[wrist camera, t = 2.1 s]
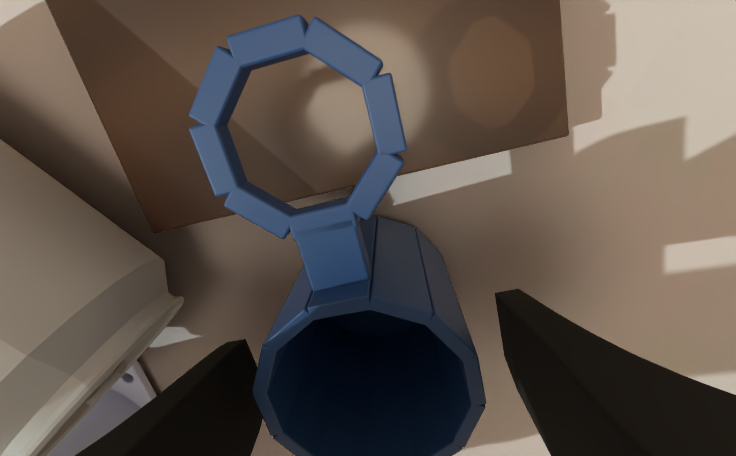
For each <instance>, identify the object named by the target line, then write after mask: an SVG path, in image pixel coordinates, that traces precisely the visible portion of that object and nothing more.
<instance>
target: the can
mask: <svg viewBox="0 0 736 456" xmlns="http://www.w3.org/2000/svg"><path fill="white" fill-rule="evenodd" d="M183 303H184V297H182V296H180V297H175V296H173V295H172V294H170V293H168V287H167V279H166V272H165V264H164V260H163V259H162V258H161V257H159V256H158V255H157V254H155V253H154V252H153V251H151V250H150V249H148V248H147V247H146V246H144V245H143V244H142V243H140V242H139V241H138V240H136V239H135V238H134V237H132V236H131V235H130V234H128V233H127V232H125V231H124V230H123V229H121V228H120V227H119V226H117V225H116V224H115V223H113V222H112V221H111V220H109V219H108V218H107V217H105V216H104V215H102V214H101V213H100V212H98V211H97V210H96V209H94V208H93V207H92V206H90V205H89V204H88V203H86V202H85V201H84V200H82V199H81V198H79V197H78V196H77V195H75V194H74V193H73V192H71V191H70V190H69V189H67V188H66V187H65V186H63V185H62V184H61V183H59V182H58V181H56V180H55V179H54V178H52V177H51V176H50V175H48V174H47V173H46V172H44V171H43V170H42V169H40V168H39V167H38V166H36V165H35V164H33V163H32V162H31V161H29V160H28V159H27V158H25V157H24V156H23V155H21V154H20V153H19V152H17V151H16V150H15V149H13V148H12V147H10V146H9V145H8V144H6V143H5V142H4V141H2V140H1V139H0V456H46V455H47V454H48V453H49V452H50V451H51V450H52V449H53V448H54V447H55V446H56V445H57V444H58V443H59V442H60V441H61V440H62V439H63V438H64V437H65V436H66V435H67V434H68V433H69V432H70V431H71V430H72V429H73V428H74V427H75V426H76V425H77V424H78V423H79V422H80V420H81V419H82V418H83V417H84V416H85V415H86V414H87V413H88V412H89V411H90V410H91V409H92V408H93V407H94V406H95V405H96V404H97V402H98V401H99V400H100V399H101V398H102V397H103V396H104V395H105V394H106V393H107V392H108V391H109V390H110V388H111V387H112V386H113V385H114V384H115V383H116V382H117V381H118V380H119V379H120V378H121V377H122V375H123V374H124V373H125V372H126V371H127V370H128V369H129V368H130V367H131V365H132V364H133V363H134V362H135V361H136V360H137V359H138V358H139V357H140V355H141V354H142V353H143V352H144V351H145V350H146V349H147V348H148V346H149V345H150V344H151V343H152V342H153V341H154V340H155V338H156V337H157V336H158V335H159V334H160V333H161V331H162V330H163V329H164V328H165V327H166V325H167V324H168V323H169V322H170V321H171V319H172V318H173V317H174V316H175V314H176V313H177V312H178V311H179V309H180V308H181V306H182V305H183Z"/></svg>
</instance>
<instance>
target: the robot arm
mask: <svg viewBox="0 0 736 456" xmlns="http://www.w3.org/2000/svg"><path fill="white" fill-rule="evenodd" d="M495 298H496V304H497V311H498V317H499V324H500V330H501V337H502V343H503V350H504V356H505V359H506V361H507V364H508V367H509V369H510V372H511V375H512V377H513V380H514V382H515V385H516V388H517V390H518V392H519V394H520V396H521V398H522V400H523V402H524V404H525V406H526V408H527V410H528V412H529V414H530V416H531V418H532V420H533V422H534V424H535V425H536V427H537V429H538V431H539V433H540V435H541V437H542V439H543V441H544V443H545V445H546V447H547V449H548V451H549V452H550V454H551V456H736V395H734V394H731V393H728V392H725V391H723V390H720V389H717V388H714V387H712V386H709V385H706V384H703V383H701V382H698V381H696V380H693V379H691V378H688V377H685V376H683V375H680V374H678V373H676V372H673V371H671V370H669V369H666V368H664V367H662V366H659V365H657V364H655V363H652V362H650V361H648V360H645V359H643V358H641V357H639V356H637V355H634V354H632V353H630V352H628V351H626V350H624V349H622V348H620V347H618V346H616V345H614V344H612V343H610V342H608V341H606V340H604V339H602V338H600V337H598V336H596V335H594V334H593V333H591V332H589V331H587V330H585V329H584V328H582V327H580V326H578V325H576V324H575V323H573V322H571V321H570V320H568V319H566V318H564V317H563V316H561V315H559V314H558V313H556V312H554V311H553V310H551V309H550V308H548V307H546V306H545V305H543V304H542V303H540V302H538V301H537V300H535V299H534V298H532V297H531V296H529V295H527V294H526V293H524V292H523V291H521V290H519V289H515V290H509V291H504V292H498V293H495ZM256 372H257V365H256V363H255V361H254V358H253V356H252V354H251V351H250V349H249V346H248V344H247V342H246V339H243V340H237V341H232V342H227V343H225V344H223V345H222V346H220V347H219V348H217V349H216V350H215V351H213V352H212V353H210V354H209V355H208V356H207V357H205V358H204V359H203V360H201V361H200V362H199V363H198V364H196V365H195V366H194V367H193V368H191V369H190V370H189V371H188V372H186V373H185V374H184V375H183V376H181V377H180V378H179V379H178V380H176V381H175V382H174V383H173V384H171V385H170V386H169V387H168V388H166V389H165V390H164V391H163V392H161V393H160V394H159V395H158V396H157V395H156V393H155V392H154V390H153V388H152V386H151V384H150V382H149V381H148V379H147V377H146V375H145V373H144V371H143V370H142V368H141V366H140V364H139V362H138V360H136V361H135V362H134V363H133V364H132V365H131V367H130V368H129V369H128V370H127V371H126V372H125V373H124V374H123V375H122V377H121V378H120V379H119V380H118V381H117V382H116V383H115V384H114V385H113V386H112V387H111V388H110V390H109V391H108V392H107V393H106V394H105V395H104V396H103V397H102V398H101V399H100V400H99V401H98V402H97V404H96V405H95V406H94V407H93V408H92V409H91V410H90V411H89V412H88V413H87V414H86V415H85V416H84V417H83V418H82V419H81V420H80V422H79V423H78V424H77V425H76V426H75V427H74V428H73V429H72V430H71V431H70V432H69V433H68V434H67V435H66V436H65V437H64V438H63V439H62V440H61V441H60V442H59V443H58V444H57V445H56V446H55V447H54V448H53V449H52V450H51V451H50V452H49V453H48V454H47V455H46V456H250V455H251V453H252V450H253V447H254V445H255V442H256V439H257V436H258V433H259V431H260V427H261V423H262V420H263V416H262V414H261V412H260V410H259V407H258V405H257V403H256V400H255V398H254V396H253V385H254V381H255V376H256Z"/></svg>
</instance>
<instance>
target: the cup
mask: <svg viewBox="0 0 736 456" xmlns="http://www.w3.org/2000/svg"><path fill="white" fill-rule="evenodd" d="M227 42H228V45H229V48H230V49H227V48H224V47H221V46H217V47H216V48H215V50H214V52H213V55H212V57H211V60H210V62H209V65H208V67H207V70H206V72H205V75H204V77H203V80H202V82H201V85H200V87H199V90H198V92H197V95H196V97H195V100H194V102H193V105H192V107H191V110H190V112H189V116H190V117H191V118H192V119H194V120H196V121H197V122H199V123H201V124H199V125H195V126H192V127H191V128H189V131H190V134H191V136H192V139H193V141H194V144H195V146H196V149H197V151H198V154H199V156H200V159H201V162H202V164H203V167H204V169H205V172H206V174H207V177H208V179H209V182H210V184H211V187H212V190H213V192H214V195H215V196H218V197H220V196H224V195H228V196H227V198H226V200H225V202H224V206H225V207H226V208H228V209H230V210H231V211H233V212H235V213H237V214H238V215H240V216H242V217H244V218H246V219H247V220H249V221H251V222H253V223H254V224H256V225H258V226H260V227H262V228H263V229H265V230H267V231H269V232H271V233H272V234H274V235H276V236H278V237H279V238H281V239H284V238H286V236H287V235H288V234H289V233H290V231H291V233H292V236H293V239H294V240H295V241H297V244H298V247H299V250H300V253H301V256H302V259H303V263H304V266H303V268H302V270H301V272H300V274H299V276H298V278H297V280H296V282H295V284H294V286H293V288H292V290H291V291H290V293H289V295H288V297H287V299H286V301H285V303H284V305H283V307H282V309H281V311H280V313H279V315H278V317H277V319H276V321H275V323H274V325H273V327H272V328H271V330H270V332H269V334H268V336H267V338H266V340H265V342H264V344H263V346H262V350H261V354H260V359H259V363H258V367H257V372H256V376H255V381H254V385H253V396H254V398H255V400H256V403H257V405H258V407H259V410H260V412H261V414H262V416H263V419H264V421H265V423H266V426H267V428H268V430H269V432H270V435H271V436H273V438H274V439H275V440H276V441H277V442H279V443H280V444H281V445H283V446H284V447H285V448H286V449H288V450H289V451H290V452H292V453H293V454H294V455H296V456H452V455H454V454H456V453H457V452H459V451H460V450H462V447H465V445H466V443H467V441H468V440H469V438H470V436H471V434H472V432H473V430H474V428H475V426H476V424H477V422H478V420H479V418H480V416H481V415H482V413H483V411H484V409H485V404H486V399H485V393H484V388H483V382H482V377H481V371H480V366H479V360H478V356H477V353H476V350H475V347H474V345H473V342H472V339H471V336H470V333H469V330H468V328H467V325H466V322H465V319H464V316H463V314H462V311H461V308H460V305H459V302H458V300H457V297H456V294H455V291H454V288H453V286H452V283H451V280H450V277H449V274H448V272H447V269H446V266H445V263H444V260H443V258H442V255H441V253H440V252H439V251H438V250H437V249H436V248H435V247H434V246H433V245H432V244H431V243H430V241H429V240H428V239H427V238H426V237H425V236H424V235H423V234H422V233H421V232H420V231H419V230H418V229H417V228H414V226H411V225H407V224H404V223H400V222H397V221H393V220H390V219H387V218H383V217H380V216H378V217H376V216H374V217H371V216H372V214H373V212H374V211H375V209H376V208H377V206H378V205H379V203H380V202H381V200H382V198H383V197H384V195H385V194H386V192H387V191H388V189H389V187H390V186H391V184H392V183H393V181H394V180H395V178H396V176H397V175H398V173H399V172H400V170H401V169H402V167H403V165H404V159H403V158H402V157H401V156H400V155H398V154H397V153H402V152H405V151H407V144H406V140H405V135H404V130H403V125H402V121H401V116H400V111H399V106H398V101H397V97H396V92H395V87H394V82H393V78H392V75H391V73H385V74H382V75H379V73H380V71H381V70H382V68H383V61H382V60H381V59H380V58H378V57H377V56H375V55H374V54H372V53H371V52H369V51H368V50H366V49H365V48H363V47H362V46H360V45H359V44H357V43H356V42H354V41H353V40H351V39H350V38H348V37H346V36H345V35H343V34H342V33H340V32H339V31H337V30H336V29H334V28H333V27H331V26H330V25H328V24H327V23H325V22H324V21H322V20H321V19H319V18H318V17H313V18H312V20H311V22H310V24H308V22H307V21H306V19H305V18H304V17H303V16H302V15H299V14H297V15H294V16H291V17H287V18H284V19H281V20H277V21H274V22H271V23H267V24H264V25H261V26H258V27H254V28H251V29H248V30H244V31H241V32H238V33H235V34H231V35H229V36H228V37H227ZM307 54H311V55H312V56H314V57H315V58H317V59H319V60H320V61H322V62H323V63H325V64H326V65H328V66H329V67H331V68H333V69H334V70H336V71H337V72H339V73H340V74H342V75H343V76H345V77H347V78H348V79H350V80H351V81H353V82H354V83H356V84H357V85H359V86H361V87H362V90H363V94H364V98H365V102H366V107H367V111H368V115H369V119H370V123H371V128H372V132H373V136H374V140H375V145H376V149H377V151H376V153H375V154H374V156H373V158H372V159H371V161H370V163H369V164H368V166H367V168H366V169H365V171H364V173H363V174H362V176H361V178H360V179H359V181H358V183H357V184H356V186H355V188H354V189H353V191H352V193H351V194H350V196H349V197H347V198H343V199H339V200H334V201H330V202H326V203H321V204H317V205H313V206H308V207H304V208H300V209H295V208H293V207H292V206H290V205H288V204H286V203H285V202H283V201H281V200H280V199H278V198H276V197H274V196H273V195H271V194H269V193H267V192H266V191H264V190H262V189H260V188H259V187H257V186H255V185H254V184H252V183H250V182H248V181H247V178H246V176H245V173H244V170H243V167H242V164H241V162H240V159H239V156H238V153H237V150H236V148H235V145H234V142H233V139H232V137H231V134H230V131H229V128H228V123H229V120H230V118H231V116H232V114H233V111H234V109H235V107H236V105H237V102H238V100H239V98H240V96H241V93H242V91H243V89H244V87H245V84H246V82H247V80H248V78H249V75H250V73H251V71H252V70H255V69H259V68H262V67H266V66H269V65H272V64H276V63H279V62H283V61H286V60H290V59H293V58H297V57H300V56H304V55H307ZM360 217H361V218H363V219H360Z"/></svg>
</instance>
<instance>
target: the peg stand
mask: <svg viewBox="0 0 736 456" xmlns="http://www.w3.org/2000/svg"><path fill="white" fill-rule="evenodd" d="M45 1H46V3H47V5H48V8H49V10H50V12H51V14H52V16H53V18H54V20H55V23H56V25H57V27H58V29H59V31H60V33H61V35H62V38H63V40H64V42H65V44H66V46H67V48H68V51H69V53H70V55H71V57H72V59H73V61H74V63H75V66H76V68H77V70H78V72H79V74H80V76H81V78H82V81H83V83H84V85H85V87H86V89H87V91H88V94H89V96H90V98H91V100H92V102H93V104H94V106H95V109H96V111H97V113H98V115H99V117H100V119H101V121H102V124H103V126H104V128H105V130H106V132H107V134H108V137H109V139H110V141H111V143H112V145H113V147H114V149H115V152H116V154H117V156H118V158H119V160H120V162H121V165H122V167H123V169H124V171H125V173H126V175H127V177H128V180H129V182H130V184H131V186H132V188H133V190H134V192H135V195H136V197H137V199H138V201H139V203H140V205H141V208H142V210H143V212H144V214H145V216H146V218H147V220H148V223H149V225H150V227H151V229H152V231H153V232H154V233H157V232H161V231H166V230H170V229H174V228H178V227H183V226H187V225H191V224H195V223H200V222H204V221H208V220H212V219H217V218H221V217H225V216H229V215H234V214H237V213H235V212H233V211H231V210H230V209H228V208H226V207H225V206H224V202H225V200H226V198H227V196H228V195H224V196H220V197H218V196H215V195H214V192H213V190H212V187H211V184H210V182H209V179H208V177H207V174H206V172H205V169H204V167H203V164H202V162H201V159H200V156H199V154H198V151H197V149H196V146H195V144H194V141H193V139H192V136H191V134H190V131H189V128H191V127H192V126H195V125H199V124H201V123H199V122H197V121H196V120H194V119H192V118H191V117H190V116H189V112H190V110H191V107H192V105H193V102H194V100H195V97H196V95H197V92H198V90H199V87H200V85H201V82H202V80H203V77H204V75H205V72H206V70H207V67H208V65H209V62H210V60H211V57H212V55H213V52H214V50H215V48H216V47H217V46H221V47H224V48H227V49H230V48H229V45H228V42H227V37H228V36H229V35H231V34H235V33H238V32H241V31H244V30H248V29H251V28H254V27H258V26H261V25H264V24H267V23H271V22H274V21H277V20H281V19H284V18H287V17H291V16H294V15H297V14H299V15H302V16H303V17H304V18H305V19H306V21H307V22H308V24H310V22H311V20H312V18H313V17H318V18H319V19H321V20H322V21H324V22H325V23H327V24H328V25H330V26H331V27H333V28H334V29H336V30H337V31H339V32H340V33H342V34H343V35H345V36H346V37H348V38H350V39H351V40H353V41H354V42H356V43H357V44H359V45H360V46H362V47H363V48H365V49H366V50H368V51H369V52H371V53H372V54H374V55H375V56H377V57H378V58H380V59H381V60H382V61H383V68H382V70H381V71H380V73H379V75H382V74H385V73H391V75H392V78H393V82H394V87H395V92H396V97H397V101H398V106H399V111H400V116H401V121H402V125H403V130H404V135H405V140H406V144H407V151H405V152H402V153H397V154H398V155H400V156H401V157H402V158H403V159H404V165H403V167H402V169H401V170H400V172H399V173H398V175H397V176H400V175H404V174H408V173H413V172H417V171H421V170H425V169H430V168H434V167H438V166H442V165H447V164H451V163H455V162H459V161H464V160H468V159H472V158H476V157H481V156H485V155H489V154H493V153H498V152H502V151H506V150H511V149H515V148H519V147H523V146H528V145H532V144H536V143H540V142H545V141H549V140H553V139H557V138H562V137H566V136H568V135H569V130H568V115H567V101H566V86H565V72H564V57H563V42H562V28H561V13H560V0H45ZM228 128H229V131H230V134H231V137H232V139H233V142H234V145H235V148H236V150H237V153H238V156H239V159H240V162H241V164H242V167H243V170H244V173H245V176H246V178H247V181H248V182H250V183H252V184H254V185H255V186H257V187H259V188H260V189H262V190H264V191H266V192H267V193H269V194H271V195H273V196H274V197H276V198H278V199H280V200H281V201H283V202H289V201H293V200H298V199H302V198H306V197H310V196H315V195H319V194H323V193H327V192H332V191H336V190H340V189H344V188H349V187H353V186H356V184H357V183H358V181H359V179H360V178H361V176H362V174H363V173H364V171H365V169H366V168H367V166H368V164H369V163H370V161H371V159H372V158H373V156H374V154H375V153H376V151H377V149H376V145H375V140H374V136H373V132H372V128H371V123H370V119H369V115H368V111H367V107H366V102H365V98H364V94H363V90H362V87H361V86H359V85H357V84H356V83H354V82H353V81H351V80H350V79H348V78H347V77H345V76H343V75H342V74H340V73H339V72H337V71H336V70H334V69H333V68H331V67H329V66H328V65H326V64H325V63H323V62H322V61H320V60H319V59H317V58H315V57H314V56H312V55H311V54H307V55H304V56H300V57H297V58H293V59H290V60H286V61H283V62H279V63H276V64H272V65H269V66H266V67H262V68H259V69H255V70H252V71H251V73H250V75H249V78H248V80H247V82H246V84H245V87H244V89H243V91H242V93H241V96H240V98H239V100H238V102H237V105H236V107H235V109H234V111H233V114H232V116H231V118H230V120H229V123H228Z"/></svg>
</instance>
